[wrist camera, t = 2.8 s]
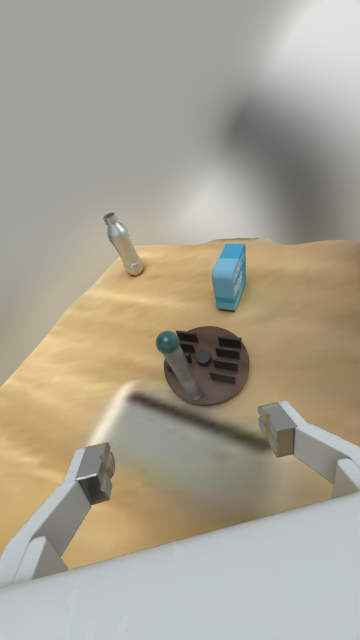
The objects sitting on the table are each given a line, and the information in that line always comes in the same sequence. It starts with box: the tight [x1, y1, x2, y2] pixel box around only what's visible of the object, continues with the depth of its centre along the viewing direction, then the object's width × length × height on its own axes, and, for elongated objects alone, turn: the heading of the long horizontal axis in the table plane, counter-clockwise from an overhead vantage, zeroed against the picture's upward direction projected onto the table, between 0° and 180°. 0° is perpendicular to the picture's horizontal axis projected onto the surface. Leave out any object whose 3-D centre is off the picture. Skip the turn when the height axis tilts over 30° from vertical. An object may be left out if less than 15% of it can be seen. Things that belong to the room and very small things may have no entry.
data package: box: [212, 244, 246, 311], centre depth 49 cm, size 12×4×12 cm, turn 156°
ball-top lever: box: [156, 326, 249, 405], centre depth 34 cm, size 17×17×19 cm
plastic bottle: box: [103, 213, 144, 275], centre depth 65 cm, size 6×7×20 cm
